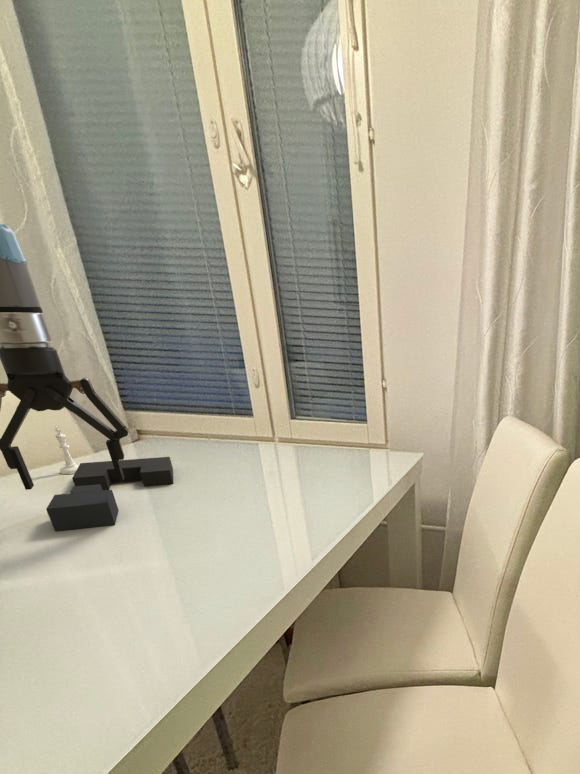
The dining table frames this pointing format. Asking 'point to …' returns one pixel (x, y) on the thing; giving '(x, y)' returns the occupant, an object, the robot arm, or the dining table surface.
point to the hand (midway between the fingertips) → (77, 483)
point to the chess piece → (65, 454)
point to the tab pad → (83, 508)
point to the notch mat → (125, 472)
